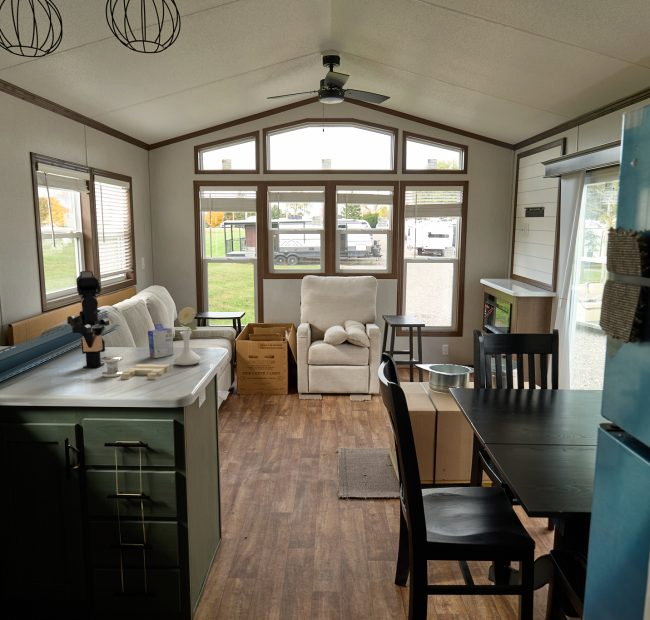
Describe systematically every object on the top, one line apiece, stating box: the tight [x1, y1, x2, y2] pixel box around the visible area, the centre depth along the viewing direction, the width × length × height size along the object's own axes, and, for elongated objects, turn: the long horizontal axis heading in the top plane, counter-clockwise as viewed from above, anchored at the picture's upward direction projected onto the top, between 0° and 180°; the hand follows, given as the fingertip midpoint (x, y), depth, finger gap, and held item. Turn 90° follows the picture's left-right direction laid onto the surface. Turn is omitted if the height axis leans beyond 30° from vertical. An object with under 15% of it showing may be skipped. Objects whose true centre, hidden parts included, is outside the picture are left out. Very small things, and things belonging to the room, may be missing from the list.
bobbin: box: [101, 355, 124, 379], centre depth 227 cm, size 8×8×7 cm
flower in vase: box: [173, 306, 202, 366], centre depth 241 cm, size 13×11×25 cm
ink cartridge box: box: [147, 323, 175, 359], centre depth 259 cm, size 10×6×14 cm, turn 135°
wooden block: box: [81, 334, 103, 351], centre depth 229 cm, size 4×6×6 cm, turn 84°
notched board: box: [120, 363, 172, 380], centre depth 228 cm, size 16×14×2 cm
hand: (92, 346), depth 230 cm, fingers closed on wooden block, 4 cm apart
